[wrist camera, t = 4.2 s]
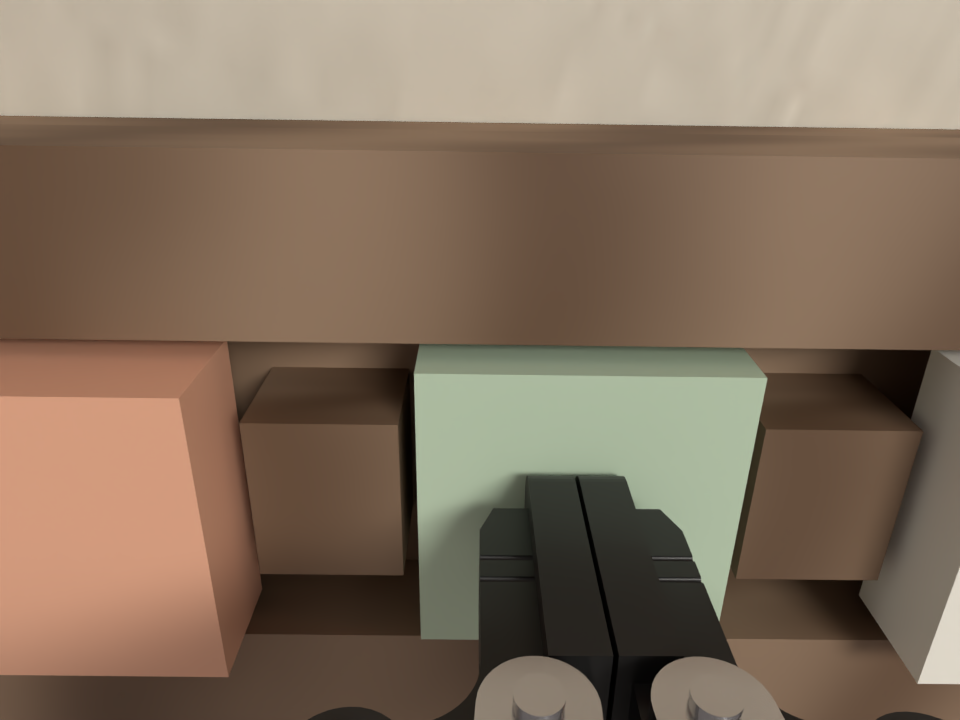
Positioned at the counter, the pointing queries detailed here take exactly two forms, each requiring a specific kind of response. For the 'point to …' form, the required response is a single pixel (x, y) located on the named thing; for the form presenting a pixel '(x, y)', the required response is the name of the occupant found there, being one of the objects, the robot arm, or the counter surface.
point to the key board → (499, 321)
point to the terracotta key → (122, 510)
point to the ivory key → (927, 538)
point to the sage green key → (576, 448)
